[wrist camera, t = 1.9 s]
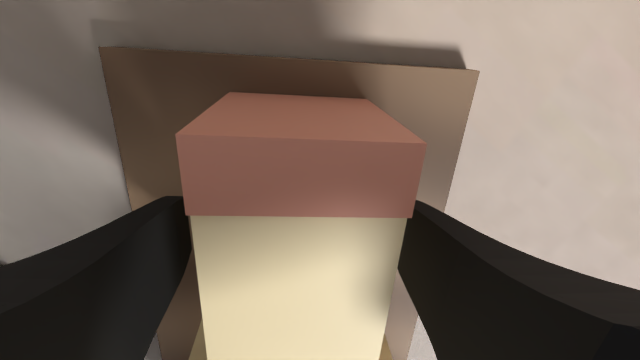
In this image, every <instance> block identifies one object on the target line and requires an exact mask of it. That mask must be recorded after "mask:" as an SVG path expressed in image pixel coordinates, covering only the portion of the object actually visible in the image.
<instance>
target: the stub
mask: <svg viewBox="0 0 640 360" xmlns="http://www.w3.org/2000/svg"><path fill="white" fill-rule="evenodd" d="M175 136H176V144H177V152H178V160H179V168H180V175H181V183H182V191H183V199H184V207H185V215H188V216H190V219H191V227H192V235H193V244H194V252H195V260H196V269H197V277H198V285H199V294H200V302H201V311H202V319H203V327H204V336H205V344H206V352H207V360H379V356H380V351H381V346H382V341H383V337H384V332H385V327H386V322H387V317H388V312H389V307H390V302H391V297H392V292H393V287H394V282H395V277H396V272H397V267H398V262H399V257H400V252H401V247H402V242H403V237H404V232H405V227H406V222H407V218H412V215H413V210H414V205H415V200H416V196H417V191H418V186H419V181H420V176H421V172H422V167H423V162H424V157H425V152H426V147H427V143H426V142H424V141H423V140H422V139H420V138H419V137H418V136H416V135H415V134H414V133H412V132H411V131H410V130H408V129H407V128H405V127H404V126H403V125H401V124H400V123H399V122H397V121H396V120H395V119H393V118H392V117H391V116H389V115H388V114H386V113H385V112H384V111H382V110H381V109H380V108H378V107H377V106H376V105H374V104H373V103H372V102H370V101H369V100H367V99H358V98H339V97H319V96H300V95H280V94H261V93H241V92H229V93H228V94H226V95H225V96H224V97H222V98H221V99H220V100H219V101H217V102H216V103H215V104H213V105H212V106H211V107H210V108H208V109H207V110H206V111H204V112H203V113H202V114H201V115H199V116H198V117H197V118H195V119H194V120H193V121H192V122H190V123H189V124H188V125H186V126H185V127H184V128H183V129H181V130H180V131H179V132H177V133H176V134H175Z"/></svg>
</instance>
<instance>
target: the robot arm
mask: <svg viewBox="0 0 640 360" xmlns="http://www.w3.org/2000/svg"><path fill="white" fill-rule="evenodd" d="M191 250H192V244H191V236H190V228H189V220H188V215H185V207H184V199H183V196H164V197H161V198H159V199H156V200H154V201H152V202H150V203H148V204H146V205H144V206H142V207H140V208H138V209H136V210H134V211H132V212H130V213H128V214H126V215H124V216H122V217H120V218H118V219H116V220H115V221H113V222H110V223H108V224H106V225H104V226H102V227H100V228H98V229H95V230H93V231H91V232H89V233H87V234H85V235H83V236H80V237H78V238H76V239H74V240H71V241H69V242H67V243H64V244H62V245H59V246H57V247H55V248H52V249H49V250H47V251H44V252H41V253H39V254H36V255H34V256H31V257H28V258H25V259H23V260H20V261H17V262H14V263H11V264H7V265H4V266H1V267H0V360H144V358H145V355H146V353H147V351H148V348H149V346H150V344H151V341H152V339H153V337H154V335H155V333H156V331H157V329H158V327H159V325H160V323H161V321H162V319H163V317H164V315H165V313H166V311H167V309H168V307H169V304H170V302H171V300H172V298H173V296H174V294H175V292H176V290H177V288H178V286H179V284H180V282H181V280H182V277H183V275H184V273H185V270H186V267H187V264H188V260H189V257H190V254H191ZM397 269H398V272H399V274H400V277H401V279H402V281H403V283H404V285H405V287H406V290H407V292H408V294H409V296H410V298H411V300H412V302H413V304H414V306H415V308H416V311H417V313H418V315H419V317H420V319H421V321H422V323H423V325H424V327H425V329H426V332H427V334H428V336H429V339H430V341H431V343H432V346H433V349H434V351H435V354H436V357H437V360H640V290H637V289H633V288H630V287H626V286H622V285H619V284H615V283H611V282H608V281H604V280H601V279H598V278H594V277H591V276H588V275H585V274H581V273H578V272H575V271H573V270H570V269H567V268H564V267H561V266H558V265H555V264H552V263H549V262H547V261H544V260H541V259H539V258H536V257H534V256H531V255H529V254H526V253H524V252H521V251H519V250H517V249H514V248H512V247H510V246H507V245H505V244H503V243H501V242H499V241H497V240H495V239H493V238H490V237H488V236H486V235H484V234H482V233H480V232H478V231H476V230H474V229H473V228H471V227H469V226H467V225H465V224H463V223H461V222H459V221H458V220H456V219H454V218H452V217H450V216H449V215H447V214H445V213H443V212H441V211H439V210H438V209H436V208H434V207H432V206H430V205H428V204H426V203H424V202H421V201H419V200H415V205H414V210H413V215H412V218H407V222H406V227H405V232H404V237H403V242H402V247H401V252H400V257H399V262H398V267H397Z"/></svg>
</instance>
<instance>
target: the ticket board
mask: <svg viewBox="0 0 640 360" xmlns="http://www.w3.org/2000/svg"><path fill="white" fill-rule="evenodd" d="M99 52H100V57H101V62H102V67H103V72H104V77H105V82H106V86H107V91H108V96H109V101H110V106H111V111H112V116H113V121H114V126H115V131H116V135H117V140H118V145H119V150H120V155H121V160H122V165H123V170H124V175H125V180H126V184H127V189H128V194H129V199H130V204H131V209H132V211H134V210H136V209H138V208H140V207H142V206H144V205H146V204H148V203H150V202H152V201H154V200H156V199H159V198H161V197H164V196H183V191H182V183H181V175H180V168H179V160H178V152H177V144H176V136H175V134H176V133H177V132H179V131H180V130H181V129H183V128H184V127H185V126H186V125H188V124H189V123H190V122H192V121H193V120H194V119H195V118H197V117H198V116H199V115H201V114H202V113H203V112H204V111H206V110H207V109H208V108H210V107H211V106H212V105H213V104H215V103H216V102H217V101H219V100H220V99H221V98H222V97H224V96H225V95H226V94H228V93H229V92H241V93H261V94H280V95H300V96H319V97H339V98H358V99H367V100H369V101H370V102H372V103H373V104H374V105H376V106H377V107H378V108H380V109H381V110H382V111H384V112H385V113H386V114H388V115H389V116H391V117H392V118H393V119H395V120H396V121H397V122H399V123H400V124H401V125H403V126H404V127H405V128H407V129H408V130H410V131H411V132H412V133H414V134H415V135H416V136H418V137H419V138H420V139H422V140H423V141H424V142H426V143H427V147H426V152H425V157H424V162H423V167H422V172H421V176H420V181H419V186H418V191H417V196H416V200H419V201H421V202H424V203H426V204H428V205H430V206H432V207H434V208H436V209H438V210H439V211H441V212H443V213H444V210H445V206H446V202H447V198H448V194H449V190H450V186H451V183H452V179H453V175H454V171H455V167H456V163H457V159H458V155H459V151H460V147H461V143H462V139H463V135H464V131H465V127H466V123H467V119H468V115H469V111H470V107H471V104H472V100H473V96H474V92H475V88H476V84H477V80H478V76H479V72H480V71H477V70H470V69H458V68H442V67H426V66H410V65H395V64H379V63H363V62H347V61H332V60H316V59H300V58H284V57H269V56H253V55H237V54H221V53H206V52H190V51H174V50H158V49H143V48H127V47H99ZM188 220H189V228H190V236H191V244H192V250H191V254H190V257H189V260H188V264H187V267H186V270H185V273H184V275H183V277H182V280H181V282H180V284H179V286H178V288H177V290H176V292H175V294H174V296H173V298H172V300H171V302H170V304H169V307H168V309H167V311H166V313H165V315H164V317H163V319H162V321H161V323H160V325H159V327H158V329H157V331H156V332H157V336H158V341H159V346H160V351H161V356H162V360H207V352H206V344H205V336H204V327H203V319H202V311H201V302H200V294H199V285H198V277H197V269H196V260H195V252H194V244H193V235H192V227H191V219H190V216H188ZM417 317H418V313H417V311H416V308H415V306H414V304H413V302H412V300H411V298H410V296H409V294H408V292H407V290H406V287H405V285H404V283H403V281H402V279H401V277H400V274H399V272H398V269H397V272H396V277H395V282H394V287H393V292H392V297H391V302H390V307H389V312H388V317H387V322H386V327H385V332H384V337H383V341H382V346H381V351H380V356H379V360H407V356H408V352H409V348H410V344H411V340H412V337H413V333H414V329H415V325H416V321H417Z"/></svg>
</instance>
